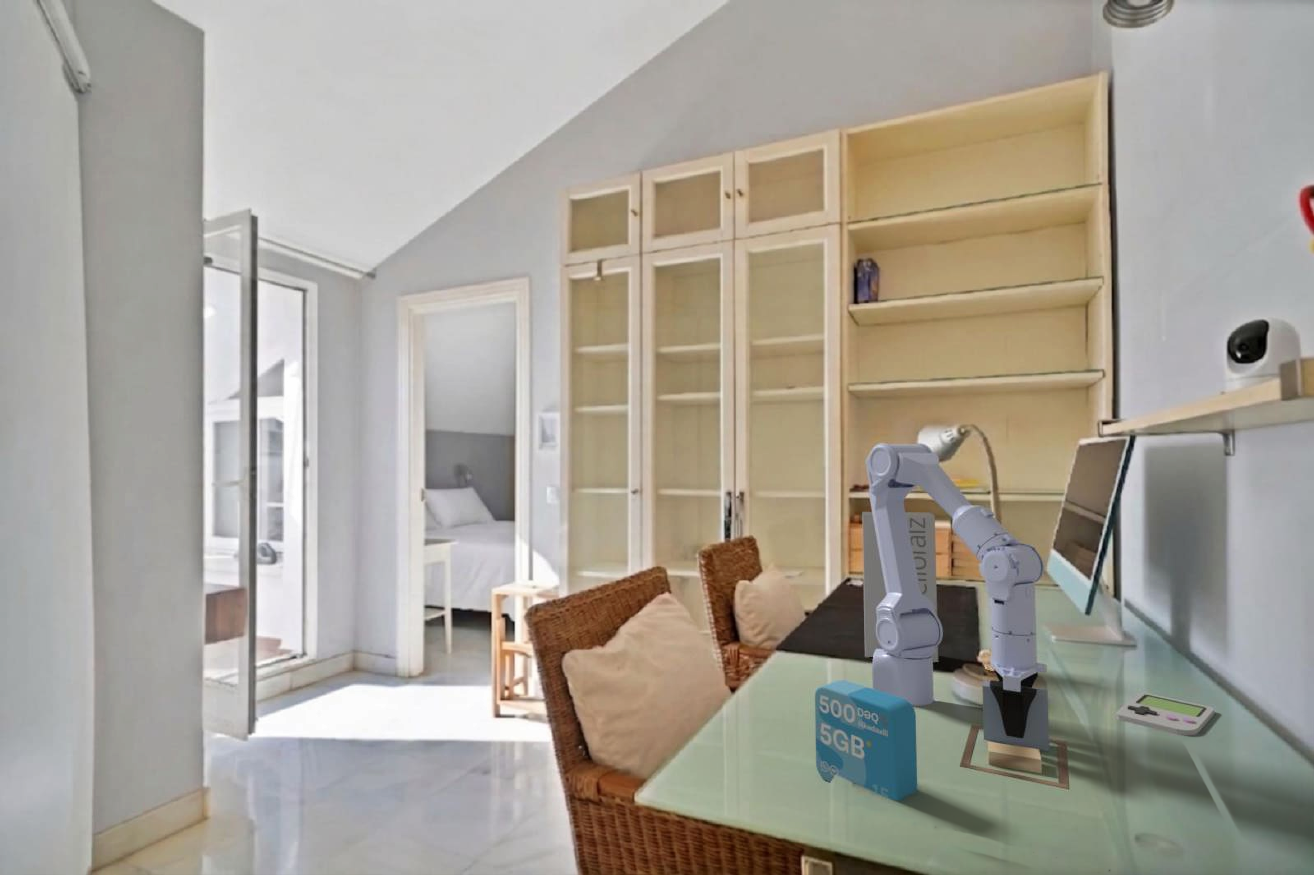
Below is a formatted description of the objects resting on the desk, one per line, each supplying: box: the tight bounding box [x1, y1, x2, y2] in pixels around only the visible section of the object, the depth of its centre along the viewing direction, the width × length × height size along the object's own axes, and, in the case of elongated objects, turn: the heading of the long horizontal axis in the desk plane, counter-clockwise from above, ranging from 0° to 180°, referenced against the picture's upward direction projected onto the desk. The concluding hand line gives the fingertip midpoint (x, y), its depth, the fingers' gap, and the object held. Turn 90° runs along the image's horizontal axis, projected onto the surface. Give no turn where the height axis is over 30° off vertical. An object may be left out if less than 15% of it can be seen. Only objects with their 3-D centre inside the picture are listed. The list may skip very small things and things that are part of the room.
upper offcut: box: [987, 741, 1043, 774], centre depth 86 cm, size 6×3×2 cm, turn 65°
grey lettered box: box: [861, 511, 939, 663], centre depth 140 cm, size 14×6×30 cm, turn 73°
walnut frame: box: [959, 724, 1069, 790], centre depth 89 cm, size 12×16×2 cm
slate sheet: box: [982, 680, 1050, 752], centre depth 93 cm, size 8×2×9 cm, turn 59°
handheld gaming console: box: [1115, 692, 1215, 736], centre depth 106 cm, size 10×2×15 cm
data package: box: [814, 679, 918, 802], centre depth 83 cm, size 12×4×12 cm, turn 37°
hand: (1015, 727), depth 93 cm, fingers open, 6 cm apart
